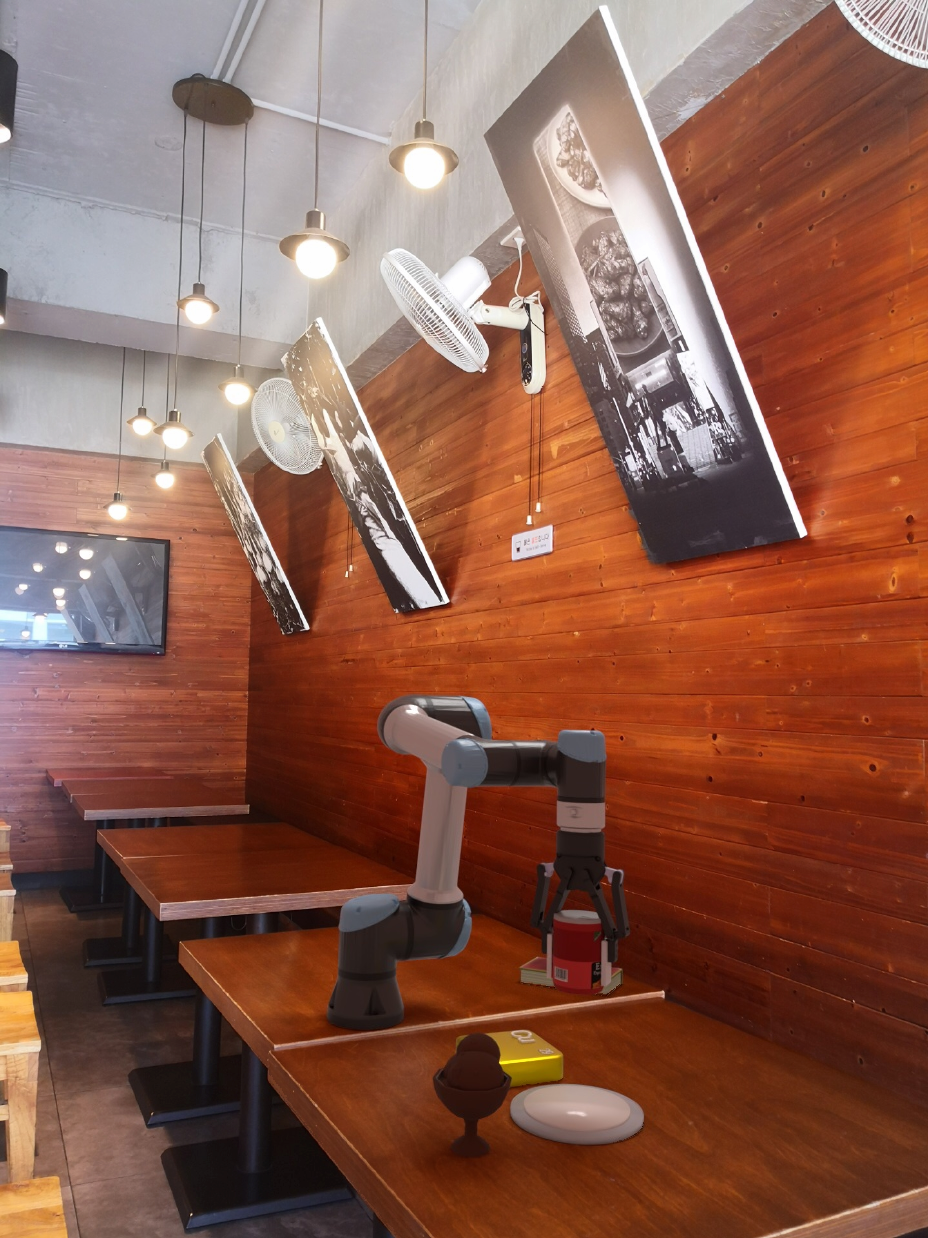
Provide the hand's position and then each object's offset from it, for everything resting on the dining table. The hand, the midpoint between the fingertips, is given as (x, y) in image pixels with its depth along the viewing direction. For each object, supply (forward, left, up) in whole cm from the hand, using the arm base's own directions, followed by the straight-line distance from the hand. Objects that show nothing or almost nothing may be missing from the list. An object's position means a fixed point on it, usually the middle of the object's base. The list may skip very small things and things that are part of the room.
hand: (578, 979), depth 147 cm
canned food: (0, 0, -1) cm, 1 cm away
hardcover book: (-25, +71, -21) cm, 78 cm away
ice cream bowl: (-10, -18, -20) cm, 29 cm away
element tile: (-17, +13, -21) cm, 30 cm away
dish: (0, 0, -20) cm, 20 cm away
